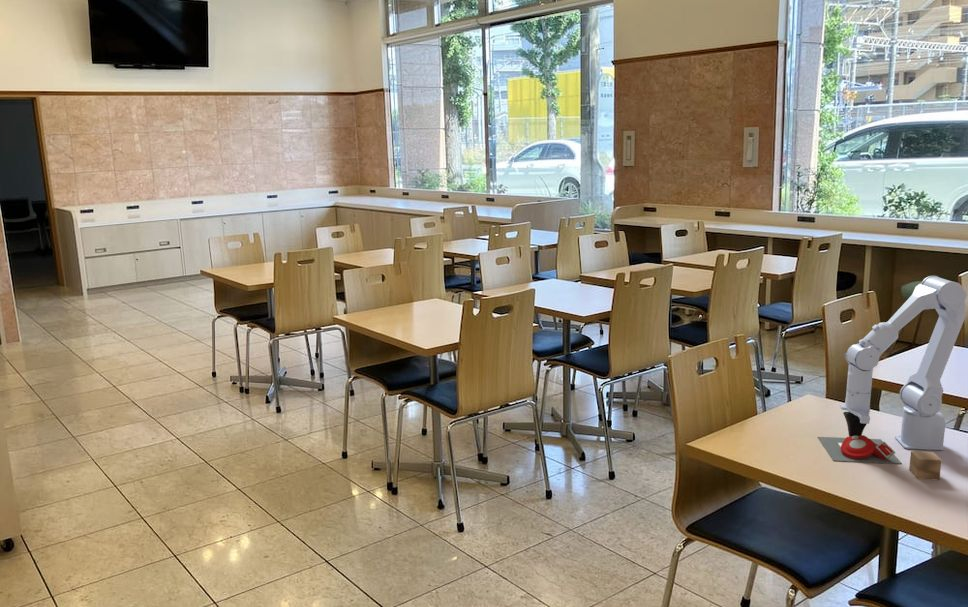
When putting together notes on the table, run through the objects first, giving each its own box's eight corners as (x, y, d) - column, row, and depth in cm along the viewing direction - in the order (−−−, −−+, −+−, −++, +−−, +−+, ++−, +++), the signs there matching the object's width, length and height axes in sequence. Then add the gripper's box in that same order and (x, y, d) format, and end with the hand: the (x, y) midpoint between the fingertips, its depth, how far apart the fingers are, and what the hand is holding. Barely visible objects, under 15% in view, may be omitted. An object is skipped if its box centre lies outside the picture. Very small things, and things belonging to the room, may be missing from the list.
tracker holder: (842, 455, 200) (836, 431, 209) (844, 469, 202) (838, 445, 210) (895, 449, 196) (887, 426, 205) (897, 464, 198) (889, 440, 206)
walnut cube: (931, 471, 193) (933, 452, 192) (939, 480, 189) (941, 460, 188) (909, 470, 194) (911, 451, 193) (916, 479, 189) (918, 459, 188)
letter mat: (880, 439, 213) (880, 439, 213) (901, 464, 198) (901, 463, 198) (817, 437, 216) (817, 436, 215) (833, 461, 200) (833, 460, 200)
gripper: (834, 381, 214) (831, 429, 217) (850, 399, 200) (845, 450, 203) (862, 382, 213) (858, 430, 216) (880, 400, 199) (875, 451, 202)
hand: (854, 440), depth 210 cm, fingers closed
